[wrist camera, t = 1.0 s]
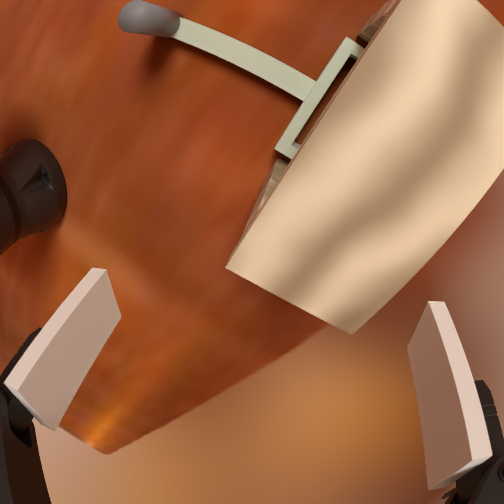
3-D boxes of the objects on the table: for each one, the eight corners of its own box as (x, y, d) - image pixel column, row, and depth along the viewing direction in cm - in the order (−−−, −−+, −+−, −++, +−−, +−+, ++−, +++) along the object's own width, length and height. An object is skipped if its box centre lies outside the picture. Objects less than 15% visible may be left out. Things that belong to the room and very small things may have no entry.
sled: (135, 72, 29) (93, 77, 23) (187, -29, 22) (154, -50, 15) (373, 206, 33) (388, 241, 27) (442, 114, 26) (476, 128, 19)
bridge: (260, 186, 35) (225, 267, 22) (375, 8, 22) (428, -39, 9) (340, 234, 36) (351, 334, 23) (458, 73, 23) (552, 88, 10)
